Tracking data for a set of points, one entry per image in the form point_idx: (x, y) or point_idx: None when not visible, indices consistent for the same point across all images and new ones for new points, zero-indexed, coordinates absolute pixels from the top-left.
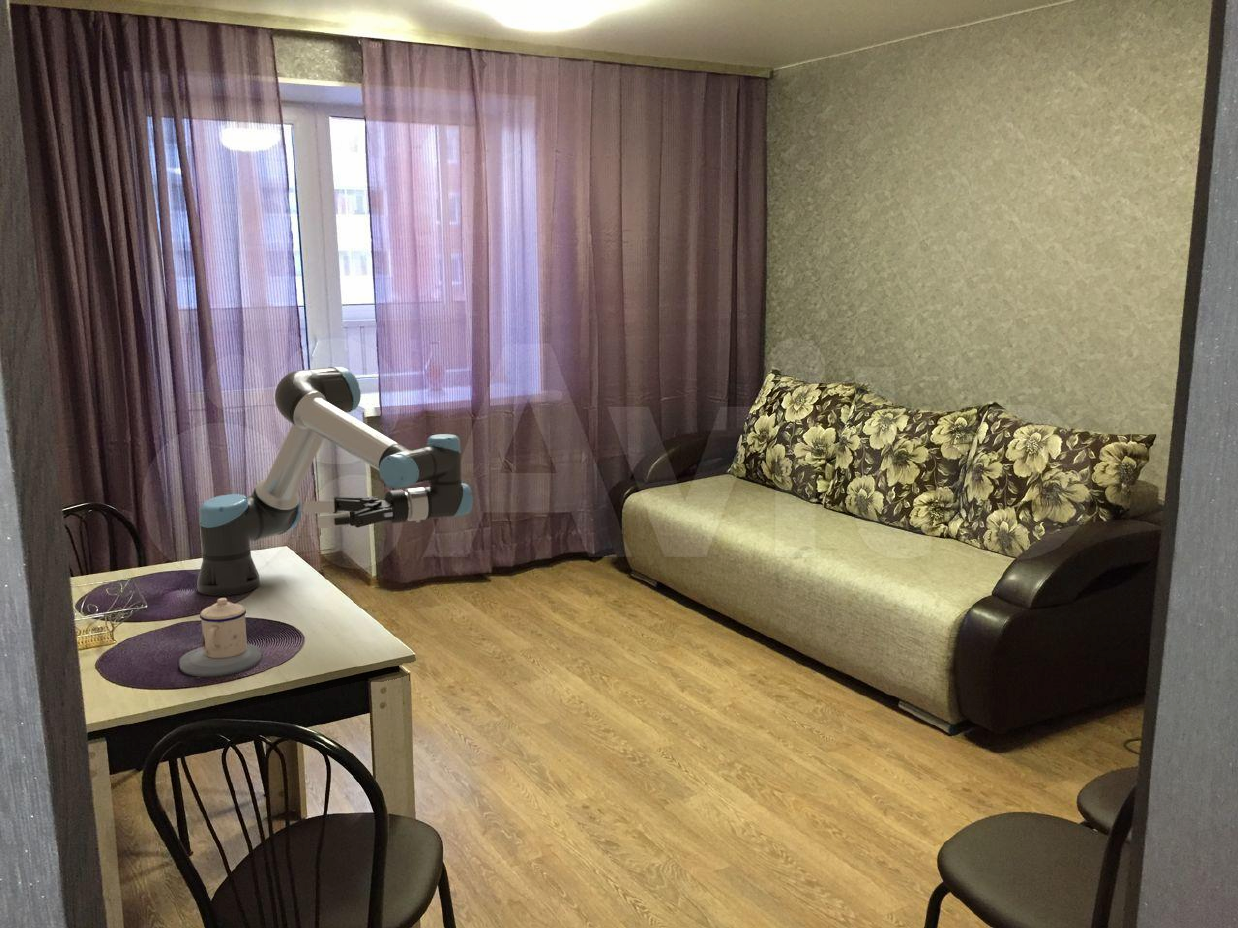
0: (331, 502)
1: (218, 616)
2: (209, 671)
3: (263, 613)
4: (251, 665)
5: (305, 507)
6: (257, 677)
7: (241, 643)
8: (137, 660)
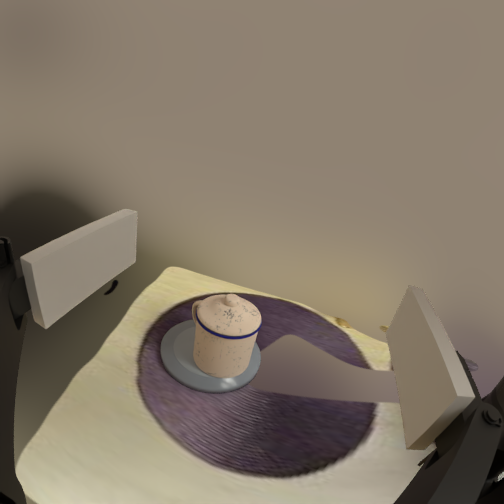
0: (444, 392)
1: (206, 298)
2: (177, 324)
3: (372, 461)
4: (162, 360)
5: (401, 305)
6: (128, 348)
7: (195, 352)
8: (277, 319)
